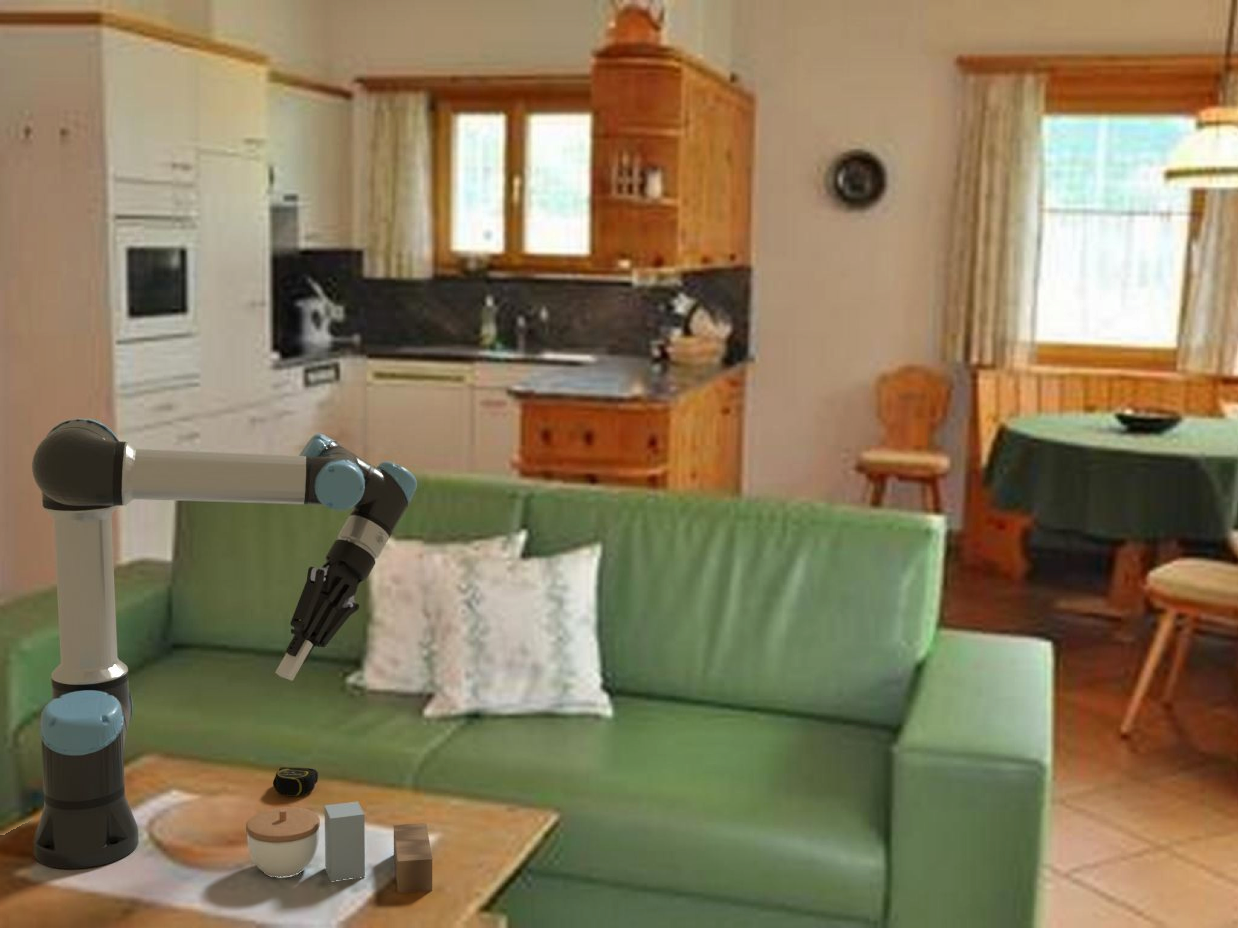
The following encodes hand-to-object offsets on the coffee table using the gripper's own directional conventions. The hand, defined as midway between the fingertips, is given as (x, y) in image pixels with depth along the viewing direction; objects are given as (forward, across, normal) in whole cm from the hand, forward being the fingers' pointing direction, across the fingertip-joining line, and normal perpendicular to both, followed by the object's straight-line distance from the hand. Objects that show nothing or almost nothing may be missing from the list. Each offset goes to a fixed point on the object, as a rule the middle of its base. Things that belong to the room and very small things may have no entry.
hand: (283, 676), depth 221 cm
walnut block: (+13, +18, -23) cm, 32 cm away
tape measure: (+12, +28, +9) cm, 31 cm away
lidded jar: (+26, +9, -11) cm, 29 cm away
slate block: (+22, +12, -19) cm, 32 cm away
